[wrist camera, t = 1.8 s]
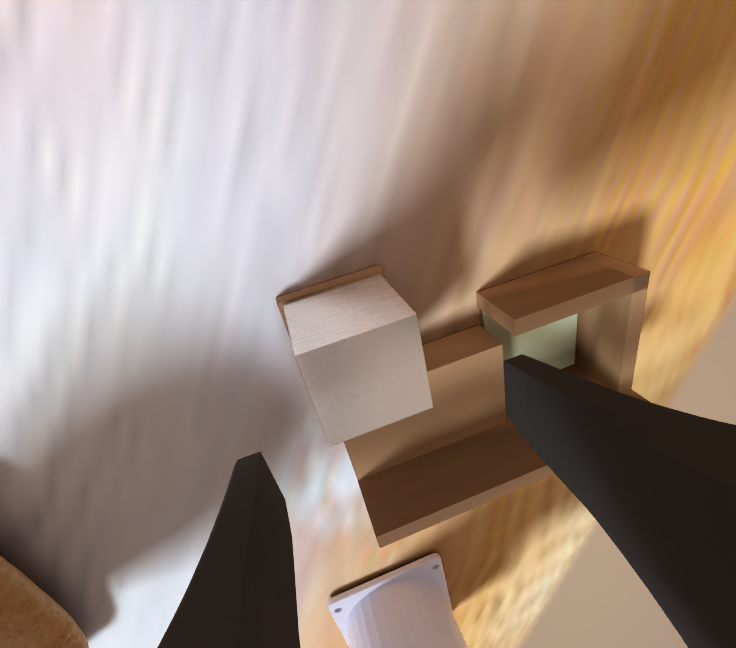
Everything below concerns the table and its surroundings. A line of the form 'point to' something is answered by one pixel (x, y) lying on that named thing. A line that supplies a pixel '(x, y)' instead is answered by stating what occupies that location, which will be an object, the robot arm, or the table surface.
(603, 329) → the walnut cabinet
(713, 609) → the robot arm
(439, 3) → the table surface
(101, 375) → the table surface
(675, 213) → the table surface
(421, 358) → the steel cube
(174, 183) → the table surface
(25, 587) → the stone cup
